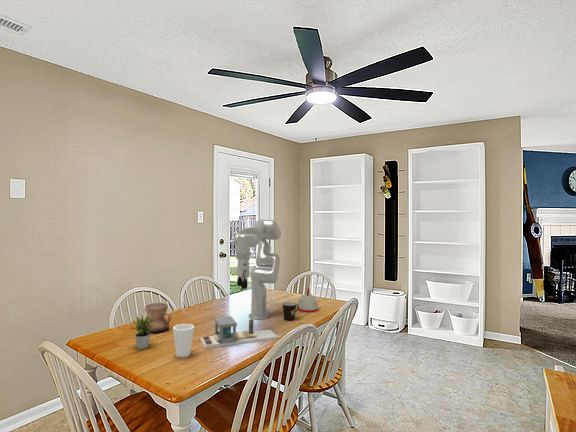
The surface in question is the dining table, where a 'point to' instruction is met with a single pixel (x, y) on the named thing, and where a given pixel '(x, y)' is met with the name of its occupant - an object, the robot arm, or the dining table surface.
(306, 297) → the grey service bell
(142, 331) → the house plant
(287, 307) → the coffee mug
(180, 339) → the foam cup
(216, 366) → the dining table surface
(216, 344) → the tunnel board
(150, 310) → the ceramic jug
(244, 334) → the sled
